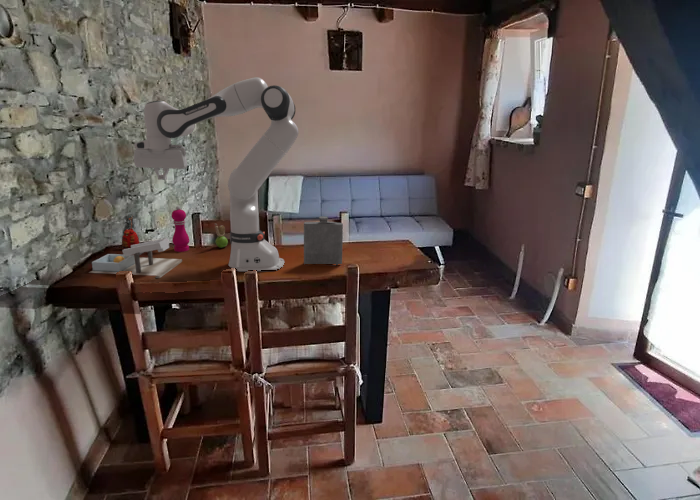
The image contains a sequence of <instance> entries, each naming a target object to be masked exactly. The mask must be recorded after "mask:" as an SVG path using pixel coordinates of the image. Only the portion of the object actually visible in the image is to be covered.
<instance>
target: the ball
mask: <svg viewBox="0 0 700 500" xmlns="http://www.w3.org/2000/svg"><path fill="white" fill-rule="evenodd" d="M122 260H124V258H123V257H122V256H117V257H115V259H114V263H119V262H121V261H122Z"/></svg>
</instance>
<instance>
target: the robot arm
mask: <svg viewBox="0 0 700 500" xmlns="http://www.w3.org/2000/svg"><path fill="white" fill-rule="evenodd" d="M258 108H259V109H263V110H264V112H265V114H266V115H267V117H268V118H269V120H270V121H271V123H270V125H269V127H268V129H266V131H265V132H264V133H263V134H262V136H261V137H260V138H259V140H257V142H256V143H255V144H254V146H253V147H252V148H251V149H250V150H249V152H248V153H247V154H246V156H245V157H244V158H243V160H241V162H240V164H239V165H238V166H237V167H236V168H234V169H233V170H232V171H231V173H230V174H229V177H228V180H227V188H228V191H229V221H230V232H229V241H230V256H229V261H228V266H229V267H230V268H232V269H234V268H236V269H237V270H236V269H235V270H236V271H237V272H249V271H248V270H257V271H256V272H262V271H261V270H276V271H278V270H277V269H279V270H280V268H281V267H282V268H283V267H284V266H283V265H285V264H284V263H285V259H284V258H281V257H280V255H279V251H278V249H277V248H276V247H277V246H276V247H275V246H274V245H272V243H270V242H268V241H267V240H266V239H265V231H262V230H261V229H260V217H259V216H260V215H259V196H258V195H259V192H258V191H259V189H260V188H261V187H262V185H263V184H264V183H265V181H266V180H267V178H268V177H269V176H270V175H271V173H272V172H273V170H274V169H275V168H276V167H277V165H279V163H280V162H281V160H282V159H283V158H284V157H285V156H286V154H287V153H288V152H289V151H290V149H291V148H292V147H293V145H294V143H295V142H296V140H297V138H298V136H299V133H300V131H299V128H298V126H297V124H296V123H295V121H293V120H294V118H295V115H296V105H295V103H294V101H293V98H292V96H291V95H290V93H288V91H287V90H286V88H284V87H282V86H279V85H276V84H275V85H268V84H267V82H266V81H265V80H264V79H263V78H261V77H259V76H257V77H251V78H247V79H243V80H240V81H237V82H235V83H232V84H230V85H228V86H226V87H224V88H223V89H220V91H218V92H216V93H215V94H213V95H212V96H210V97H208V98H207V99H205V100H202V101H199V102H197V103H195V104H192V105H190V106H187V107H185V108H181V109H179V108H176V107H174V106H172V105H170V104H169V103H167V102H166V101H164V100H154V101H148V102H146V103H145V105H144V109H143V110H144V111H143V114H144V115H143V117H144V125H145V126H144V127H146V128H145V129H146V135H145V136H146V137H145V138H146V139H144V140H141V141H138V142H135V143H134V144H133V145H134V152H133V163H134V165H135V167H136V168H140V169H141V168H147V169H153V171H154V173H155V174H156V175H157V180H160V181H161V180H165V181H166V180H167V179H168V176H167V175H168V173H169V171H170V169H171V170H172V169H173V170H174V169H176V170H178V169H179V170H185V169H186V168H187V167H188V161H187V155H186V154H187V151H186V148H185V147H184V146H183V145H182V144H172V139H175V138H178V137H179V138H180V137H184V136H185V137H186V136H188V135H191V134H192V132H193V131H194V130H195V127H196V124H198V123H201V122H203V121H206V120H208V119H211V118H220V117H234V116H240V115H243V114H245V113H247V112H250V111H252V110H254V109H258ZM161 169H162V171H163V174H161V172H160V171H161ZM282 268H281V269H282Z"/></svg>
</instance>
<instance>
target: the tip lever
mask: <svg viewBox="0 0 700 500" xmlns="http://www.w3.org/2000/svg"><path fill="white" fill-rule="evenodd" d="M168 249H170V241H169V239H168V237H167V238H166V237H165V238H162V239H155V240H148V241H143V242H141V243H140V242H139V244H135V245H131V248H128V249H124V250H123V249H122V250H121V251H122V255H124V256H128V255H134V254H135V253H139V256H141V255H142V254H144V253H148V251H152V252H153V251H156V250H157V252H158V253H161V252H164V251H166V250H168Z"/></svg>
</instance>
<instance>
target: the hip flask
mask: <svg viewBox="0 0 700 500" xmlns="http://www.w3.org/2000/svg"><path fill="white" fill-rule="evenodd" d="M318 219H319V221H305V222H303V264H304V265H305V264H336V265H338V264H342V265H343V239H344V238H343V234H344V229H343V228H344V225H343V224H344V223H343V222H336V221H330V220H329V217H328V216H324V215H323V216H318ZM336 265H335V266H336Z"/></svg>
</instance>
